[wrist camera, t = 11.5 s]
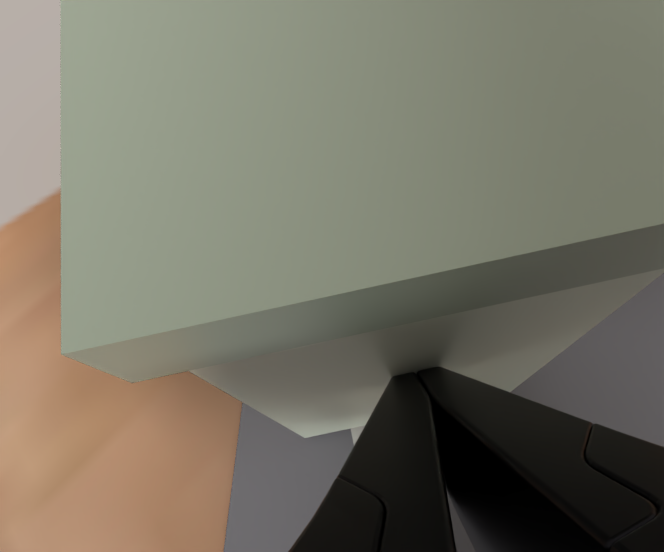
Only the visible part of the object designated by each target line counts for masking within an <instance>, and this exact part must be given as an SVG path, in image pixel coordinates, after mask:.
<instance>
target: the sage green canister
mask: <svg viewBox="0 0 664 552" xmlns="http://www.w3.org/2000/svg"><path fill="white" fill-rule="evenodd" d="M663 273H664V0H61V355H64V356H66V357H69V358H71V359H74V360H76V361H79V362H81V363H84V364H86V365H89V366H91V367H94V368H96V369H99V370H101V371H104V372H106V373H108V374H111V375H113V376H116V377H118V378H121V379H123V380H126V381H128V382H131V383H135V382H139V381H144V380H149V379H153V378H158V377H162V376H167V375H172V374H176V373H181V372H186V371H189V372H191V373H193V374H194V375H196V376H198V377H200V378H201V379H203V380H205V381H207V382H208V383H210V384H212V385H213V386H215V387H217V388H219V389H220V390H222V391H224V392H226V393H227V394H229V395H231V396H233V397H234V398H236V399H238V400H240V401H241V402H243V403H245V404H247V405H248V406H250V407H252V408H253V409H255V410H257V411H259V412H260V413H262V414H264V415H266V416H267V417H269V418H271V419H273V420H274V421H276V422H278V423H280V424H281V425H283V426H285V427H286V428H288V429H290V430H292V431H293V432H295V433H297V434H299V435H300V436H302V437H304V438H308V437H312V436H317V435H322V434H327V433H331V432H336V431H341V430H345V429H350V428H355V427H360V426H364V425H366V423H367V421H368V419H369V417H370V416H371V414H372V412H373V410H374V408H375V406H376V405H377V403H378V401H379V399H380V397H381V395H382V394H383V392H384V390H385V388H386V386H387V385H388V383H389V381H390V379H391V378H392V377H393V376H396V375H400V374H405V373H409V372H414V373H415V374H416V375H417V372H418V371H419V370H423V369H428V368H433V367H443V368H445V369H448V370H451V371H454V372H456V373H459V374H462V375H464V376H467V377H470V378H473V379H475V380H478V381H481V382H483V383H486V384H489V385H492V386H494V387H497V388H500V389H502V390H505V391H508V392H511V391H512V390H514V389H515V388H516V387H517V386H519V385H520V384H521V383H523V382H524V381H525V380H526V379H528V378H529V377H530V376H532V375H533V374H534V373H535V372H537V371H538V370H539V369H541V368H542V367H543V366H544V365H546V364H547V363H548V362H550V361H551V360H552V359H553V358H555V357H556V356H557V355H559V354H560V353H561V352H562V351H564V350H565V349H566V348H568V347H569V346H570V345H571V344H573V343H574V342H575V341H577V340H578V339H579V338H580V337H582V336H583V335H584V334H586V333H587V332H588V331H589V330H591V329H592V328H593V327H595V326H596V325H597V324H598V323H600V322H601V321H602V320H604V319H605V318H606V317H607V316H609V315H610V314H611V313H613V312H614V311H615V310H616V309H618V308H619V307H620V306H622V305H623V304H624V303H625V302H627V301H628V300H629V299H631V298H632V297H633V296H634V295H636V294H637V293H638V292H640V291H641V290H642V289H644V288H645V287H646V286H647V285H649V284H650V283H651V282H653V281H654V280H655V279H656V278H658V277H659V276H660V275H662V274H663Z"/></svg>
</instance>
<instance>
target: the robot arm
mask: <svg viewBox="0 0 664 552" xmlns="http://www.w3.org/2000/svg"><path fill="white" fill-rule="evenodd" d="M446 489H447V490H446ZM447 492H448V495H449V497H450V499H451V502H452V504H453V506H454V508H455V510H456V512H457V514H458V517H459V519H460V521H461V523H462V525H463V527H464V529H465V531H466V533H467V535H468V537H469V539H470V541H471V543H472V546H473V548H474V550H475V552H664V447H663V446H660V445H657V444H654V443H651V442H648V441H645V440H642V439H639V438H637V437H634V436H631V435H628V434H625V433H622V432H619V431H616V430H614V429H611V428H608V427H606V426H603V425H600V424H597V423H596V424H594V425H593V423H592V422H589V421H587V420H584V419H581V418H578V417H576V416H573V415H570V414H568V413H565V412H562V411H559V410H557V409H554V408H551V407H549V406H546V405H543V404H540V403H538V402H535V401H532V400H530V399H527V398H524V397H521V396H519V395H516V394H513V393H511V392H508V391H505V390H502V389H500V388H497V387H494V386H492V385H489V384H486V383H483V382H481V381H478V380H475V379H473V378H470V377H467V376H464V375H462V374H459V373H456V372H454V371H451V370H448V369H445V368H443V367H433V368H428V369H423V370H419V371H418V372H417V375H416V374H415V373H414V372H409V373H405V374H400V375H396V376H393V377H392V378H391V379H390V381H389V383H388V385H387V386H386V388H385V390H384V392H383V394H382V395H381V397H380V399H379V401H378V403H377V405H376V406H375V408H374V410H373V412H372V414H371V416H370V417H369V419H368V421H367V423H366V425H365V427H364V428H363V430H362V432H361V434H360V436H359V438H358V439H357V441H356V443H355V445H354V447H353V448H352V450H351V452H350V454H349V456H348V458H347V459H346V461H345V463H344V465H343V467H342V469H341V470H340V472H339V474H338V476H337V478H336V479H335V480H334V482H333V483H332V485H331V487H330V489H329V491H328V492H327V494H326V496H325V497H324V499H323V501H322V502H321V504H320V506H319V507H318V509H317V511H316V512H315V514H314V516H313V517H312V519H311V520H310V522H309V523H308V524H307V526H306V527H305V529H304V530H303V531H302V533H301V534H300V536H299V537H298V539H297V540H296V541H295V543H294V544H293V546H292V547H291V548H290V550H289V551H288V552H457V551H456V545H455V539H454V532H453V526H452V520H451V514H450V508H449V502H448V496H447Z"/></svg>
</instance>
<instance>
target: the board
mask: <svg viewBox="0 0 664 552" xmlns="http://www.w3.org/2000/svg"><path fill="white" fill-rule="evenodd" d="M511 393H513V394H516V395H519V396H521V397H524V398H527V399H530V400H532V401H535V402H538V403H540V404H543V405H546V406H549V407H551V408H554V409H557V410H559V411H562V412H565V413H568V414H570V415H573V416H576V417H578V418H581V419H584V420H587V421H589V422H592V423H593V425H594V424H596V423H597V424H600V425H603V426H606V427H608V428H611V429H614V430H616V431H619V432H622V433H625V434H628V435H631V436H634V437H637V438H639V439H642V440H645V441H648V442H651V443H654V444H657V445H660V446H663V447H664V273H663V274H662V275H660V276H659V277H658V278H656V279H655V280H654V281H653V282H651V283H650V284H649V285H647V286H646V287H645V288H644V289H642V290H641V291H640V292H638V293H637V294H636V295H634V296H633V297H632V298H631V299H629V300H628V301H627V302H625V303H624V304H623V305H622V306H620V307H619V308H618V309H616V310H615V311H614V312H613V313H611V314H610V315H609V316H607V317H606V318H605V319H604V320H602V321H601V322H600V323H598V324H597V325H596V326H595V327H593V328H592V329H591V330H589V331H588V332H587V333H586V334H584V335H583V336H582V337H580V338H579V339H578V340H577V341H575V342H574V343H573V344H571V345H570V346H569V347H568V348H566V349H565V350H564V351H562V352H561V353H560V354H559V355H557V356H556V357H555V358H553V359H552V360H551V361H550V362H548V363H547V364H546V365H544V366H543V367H542V368H541V369H539V370H538V371H537V372H535V373H534V374H533V375H532V376H530V377H529V378H528V379H526V380H525V381H524V382H523V383H521V384H520V385H519V386H517V387H516V388H515V389H514V390H512V391H511ZM364 427H365V425H364V426H360V427H355V428H350V429H345V430H341V431H336V432H331V433H327V434H322V435H317V436H312V437H308V438H304V437H302V436H300V435H299V434H297V433H295V432H293V431H292V430H290V429H288V428H286V427H285V426H283V425H281V424H280V423H278V422H276V421H274V420H273V419H271V418H269V417H267V416H266V415H264V414H262V413H260V412H259V411H257V410H255V409H253V408H252V407H250V406H248V405H247V404H245V403H242V411H241V419H240V427H239V435H238V443H237V451H236V458H235V466H234V474H233V482H232V490H231V498H230V506H229V514H228V522H227V530H226V538H225V545H224V552H288V551H289V550H290V548H291V547H292V546H293V544H294V543H295V541H296V540H297V539H298V537H299V536H300V534H301V533H302V531H303V530H304V529H305V527H306V526H307V524H308V523H309V522H310V520H311V519H312V517H313V516H314V514H315V512H316V511H317V509H318V507H319V506H320V504H321V502H322V501H323V499H324V497H325V496H326V494H327V492H328V491H329V489H330V487H331V485H332V483H333V482H334V480H335V479H336V478H337V476H338V474H339V472H340V470H341V469H342V467H343V465H344V463H345V461H346V459H347V458H348V456H349V454H350V452H351V450H352V448H353V447H354V445H355V443H356V441H357V439H358V438H359V436H360V434H361V432H362V430H363V428H364ZM446 490H447V489H446ZM447 496H448V502H449V508H450V514H451V520H452V526H453V532H454V539H455V545H456V551H457V552H475V550H474V548H473V546H472V543H471V541H470V539H469V537H468V535H467V533H466V531H465V529H464V527H463V525H462V523H461V521H460V519H459V517H458V514H457V512H456V510H455V508H454V506H453V504H452V502H451V499H450V497H449V495H448V492H447Z"/></svg>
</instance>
